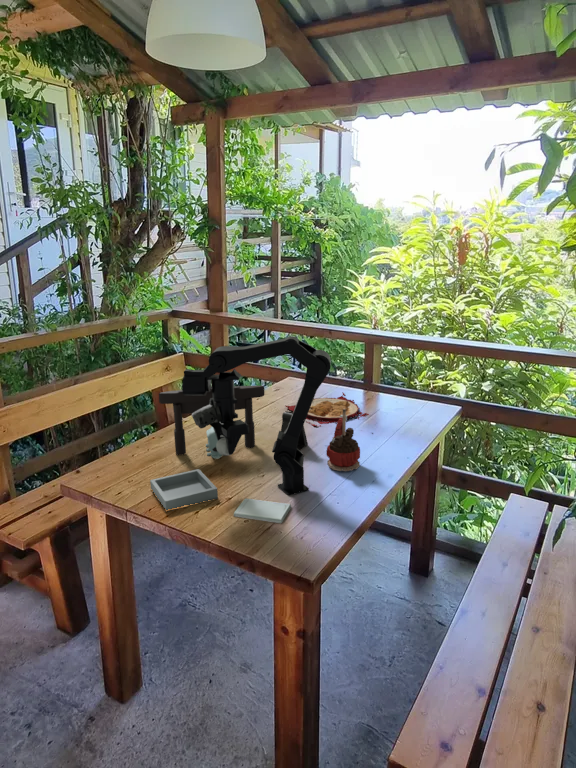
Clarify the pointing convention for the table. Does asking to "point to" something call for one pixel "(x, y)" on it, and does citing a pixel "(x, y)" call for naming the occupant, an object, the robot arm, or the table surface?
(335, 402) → the plate with food
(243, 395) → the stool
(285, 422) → the phone stand
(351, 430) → the cake
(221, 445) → the garlic
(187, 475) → the tray
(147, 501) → the table surface
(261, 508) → the hard drive
